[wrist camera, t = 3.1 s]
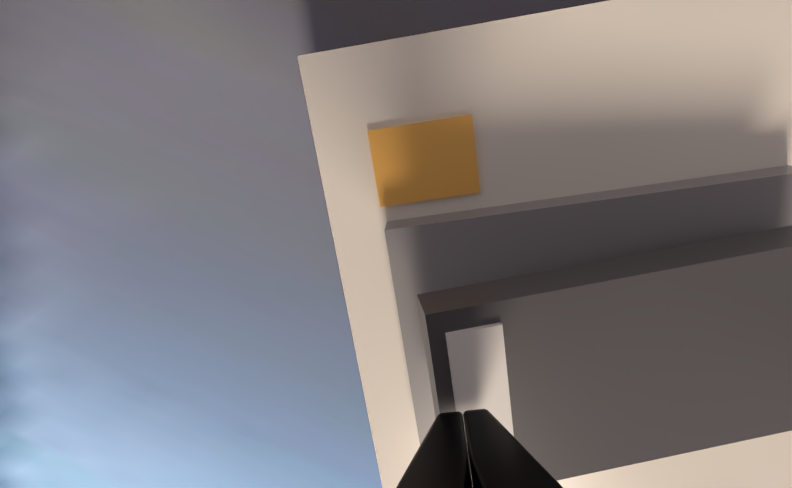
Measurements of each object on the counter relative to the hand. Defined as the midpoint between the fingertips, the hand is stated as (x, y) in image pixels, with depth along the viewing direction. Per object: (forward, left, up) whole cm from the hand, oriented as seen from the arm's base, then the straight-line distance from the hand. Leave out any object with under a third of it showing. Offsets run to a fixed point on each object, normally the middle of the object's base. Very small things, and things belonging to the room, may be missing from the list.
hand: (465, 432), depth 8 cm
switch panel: (-4, +5, -6) cm, 9 cm away
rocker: (-3, 0, -2) cm, 4 cm away
